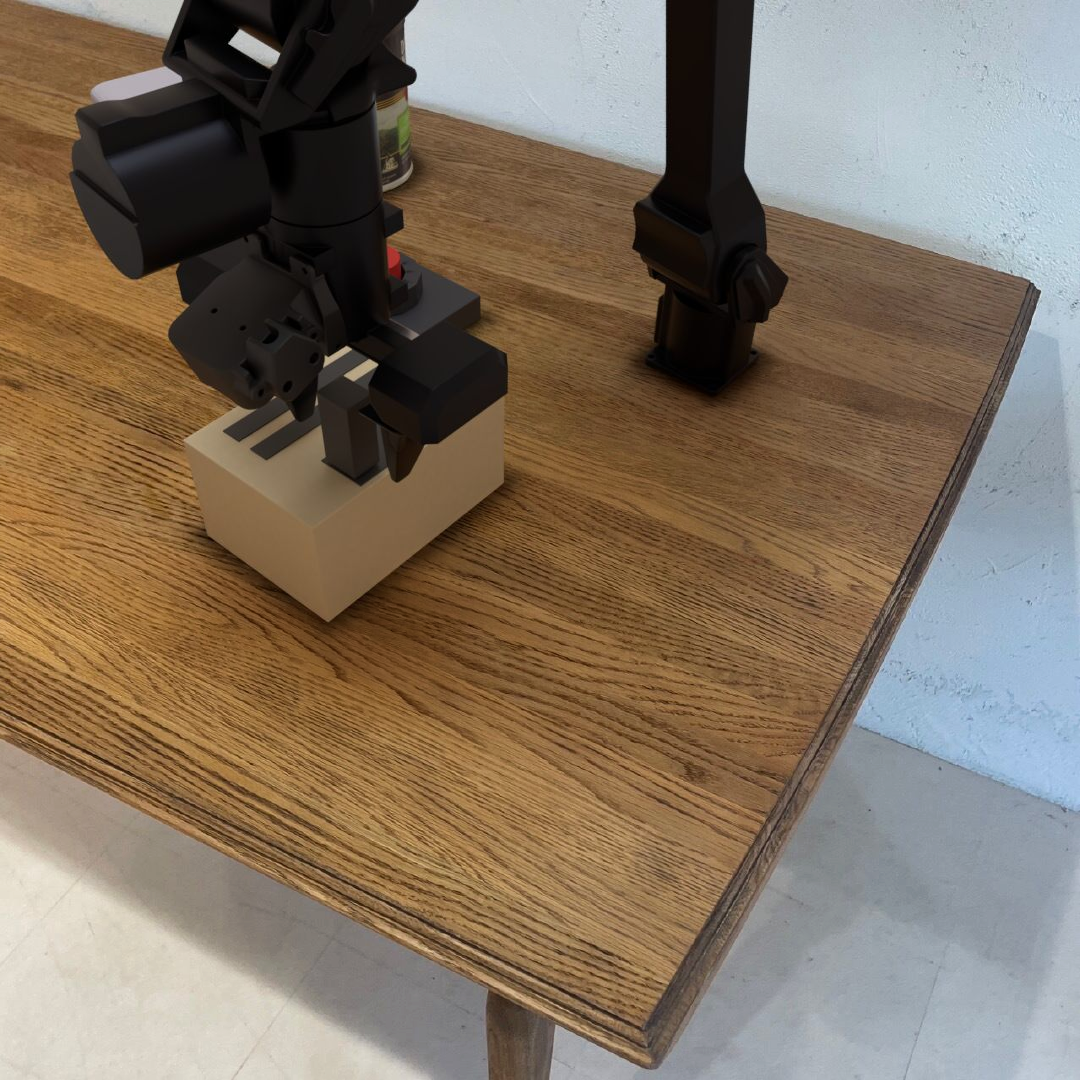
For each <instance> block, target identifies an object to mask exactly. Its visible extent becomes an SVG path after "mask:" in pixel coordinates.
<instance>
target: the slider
mask: <svg viewBox="0 0 1080 1080" xmlns="http://www.w3.org/2000/svg"><path fill="white" fill-rule="evenodd" d="M317 400H318V407H319V414H320V421H321V428H322V435H323V442H324V449H325V456H326V460H327V461H328V462H330V463H331V464H333V465H334V466H336V467H337V468H339V469H341V470H342V471H344V472H345V473H347V474H348V475H350V476H351V477H353V478H357V477H358V476H360V475H361V474H363V473H364V472H365V471H367V470H368V469H370V468H371V467H372V466H374V465H375V464H377V463H378V462H379V461H380V458H379V447H378V437H377V426H376V423H374V422H372V421H371V420H369V419H367V418H366V417H364V416H362V415H361V414H359V412H358V410H360V409H361V408H363V407H364V406H366V405H367V404H369V403H370V400H369V390H367V389H365V388H364V387H362V386H360V385H359V384H357V383H355V382H354V381H352V380H350V379H349V378H347V377H345V376H341V377H339V378H337V379H336V380H334V381H333V382H331V383H330V384H328V385H327V386H325V387H323V388H322V389H320V390H319V391H317Z"/></svg>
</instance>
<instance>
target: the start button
mask: <svg viewBox="0 0 1080 1080" xmlns="http://www.w3.org/2000/svg"><path fill="white" fill-rule="evenodd" d="M387 250H388V263H389V274H391V275H393V276H395V277H397V278H399V279H401V263H400V255H399V253H398V252H397V251H398V250H397V249H395V248H394V247H392V246H388V245H387Z"/></svg>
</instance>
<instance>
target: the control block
mask: <svg viewBox="0 0 1080 1080" xmlns="http://www.w3.org/2000/svg"><path fill="white" fill-rule="evenodd" d="M396 251H397V252H398V253H399V255H400V263H401V280H403V281H405V282H406V283H408V298H409V300H408V301H406V302H404V303H403V304H401V305H399V306H398V307H396V308H395V309H393V310H391V311H390V319H392V320H394V321H396V322H397V323H399V324H401V325H403V326H405V327H407V328H408V329H410V330H412V331H414V332H416V333H417V334H419V335H420V334H422V333H424V332H425V331H427V330H428V329H430V328H431V327H433V326H434V325H436V324H438V323H439V322H441V321H442V320H445V321H447V322H449V323H450V324H452V325H454V326H456V327H458V328H460V329H462V330H464V331H465V330H466V329H467V328H469V327H470V326H472V325H473V324H475V323H477V322H478V321H479V320H481V318H482V317H481V312H482V311H481V310H482V309H481V307H482V306H481V295H480V294H479V293H477V292H475V291H472V290H470V289H469V288H466V287H465V286H463V285H461V284H459V283H457V282H456V281H453V280H452V279H449V278H447V277H446V276H443V275H441V274H440V273H437V272H435V271H434V270H431V269H429V268H428V267H426V266H424V265H421V264H419V263H417V260H416V259H414V258H412V257H411V256H409V255H407V254H405V253H403V252H401V251H398V250H396Z"/></svg>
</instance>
